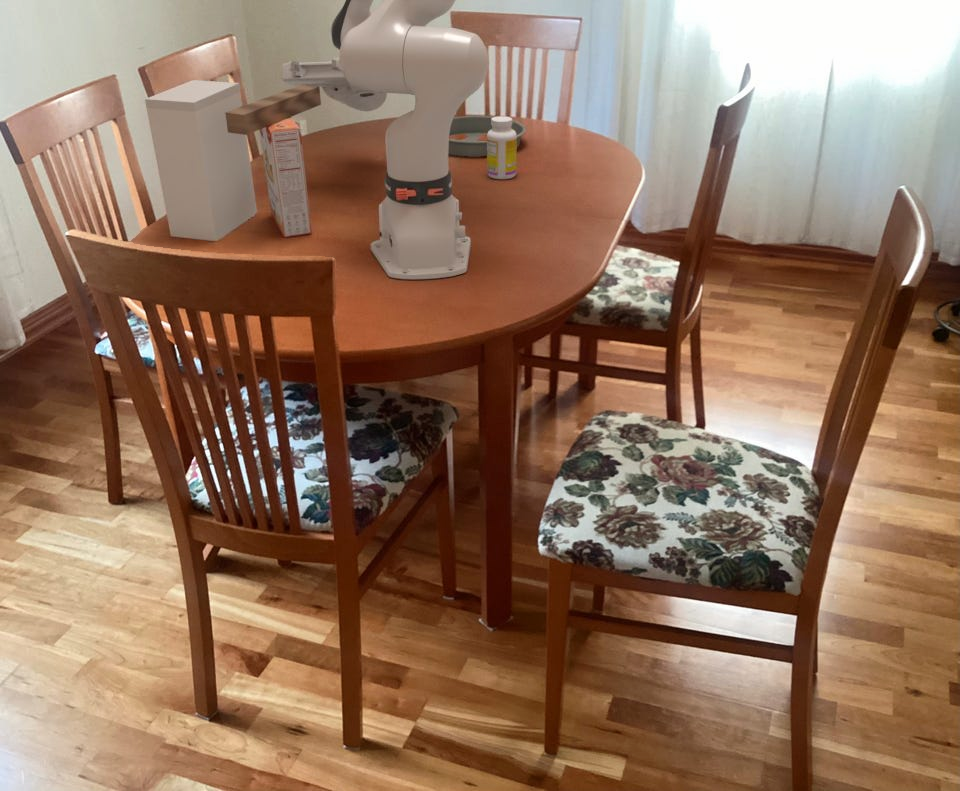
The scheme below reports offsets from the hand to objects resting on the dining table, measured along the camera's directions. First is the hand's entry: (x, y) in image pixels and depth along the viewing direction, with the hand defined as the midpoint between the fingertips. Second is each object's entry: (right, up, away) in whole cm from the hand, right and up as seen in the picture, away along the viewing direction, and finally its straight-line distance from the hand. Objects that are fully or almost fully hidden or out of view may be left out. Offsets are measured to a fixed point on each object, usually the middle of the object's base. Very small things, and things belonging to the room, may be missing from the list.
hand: (313, 64), depth 183 cm
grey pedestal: (-20, -32, +1) cm, 37 cm away
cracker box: (-5, -32, +1) cm, 32 cm away
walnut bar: (-5, -14, -10) cm, 17 cm away
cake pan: (+32, -3, +49) cm, 59 cm away
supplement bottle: (+38, -16, +27) cm, 49 cm away
